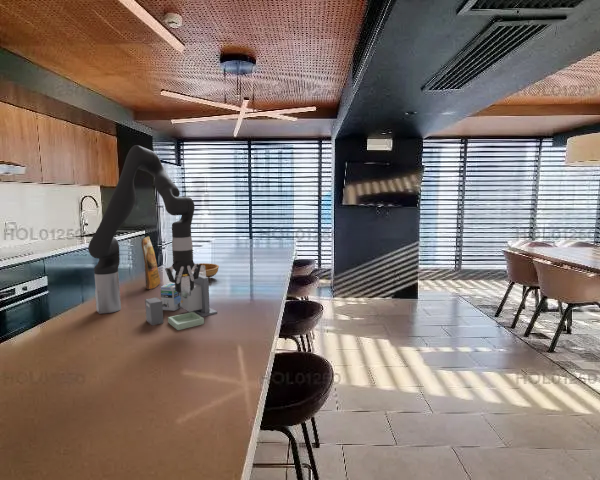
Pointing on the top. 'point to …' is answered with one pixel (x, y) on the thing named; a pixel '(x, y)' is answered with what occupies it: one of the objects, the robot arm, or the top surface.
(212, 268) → the tan wooden bowl
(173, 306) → the light bulb box
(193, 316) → the parts tray
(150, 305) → the grey block
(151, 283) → the pancake mix bag
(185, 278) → the cylinder
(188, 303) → the wall unit
